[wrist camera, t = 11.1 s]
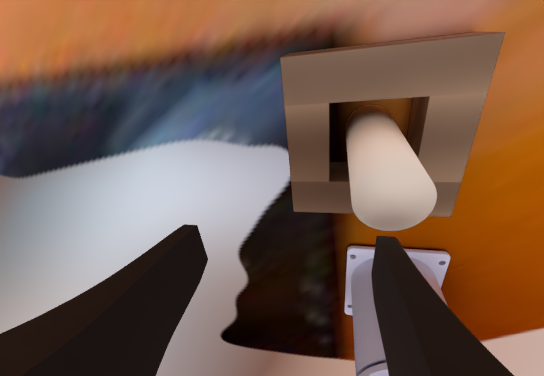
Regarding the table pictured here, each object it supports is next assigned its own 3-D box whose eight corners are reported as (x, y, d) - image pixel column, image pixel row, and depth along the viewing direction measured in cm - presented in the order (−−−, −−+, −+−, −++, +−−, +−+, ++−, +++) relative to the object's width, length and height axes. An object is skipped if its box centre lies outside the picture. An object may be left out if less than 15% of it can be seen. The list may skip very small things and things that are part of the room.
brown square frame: (435, 191, 19) (450, 216, 16) (298, 190, 21) (293, 211, 19) (474, 31, 14) (505, 32, 11) (288, 53, 16) (280, 57, 14)
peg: (389, 147, 18) (428, 233, 10) (344, 148, 18) (349, 229, 11) (395, 102, 16) (445, 165, 9) (345, 105, 17) (353, 166, 9)
